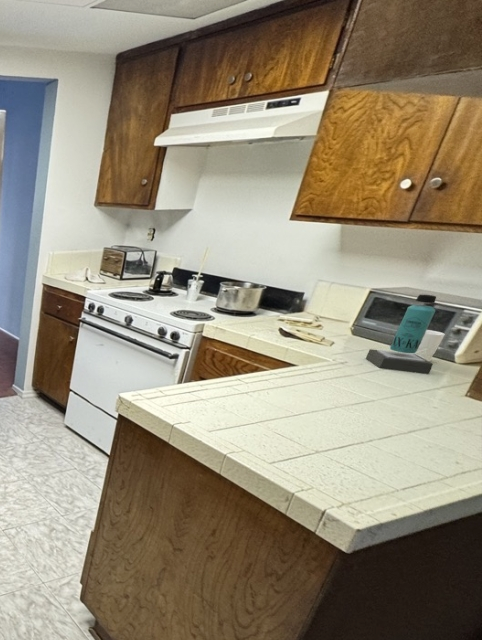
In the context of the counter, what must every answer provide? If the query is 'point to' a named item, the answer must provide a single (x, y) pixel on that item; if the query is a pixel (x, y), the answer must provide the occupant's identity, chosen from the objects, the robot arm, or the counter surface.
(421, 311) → the beverage bottle
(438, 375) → the counter surface
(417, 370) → the scale
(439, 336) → the white cup
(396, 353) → the pan
